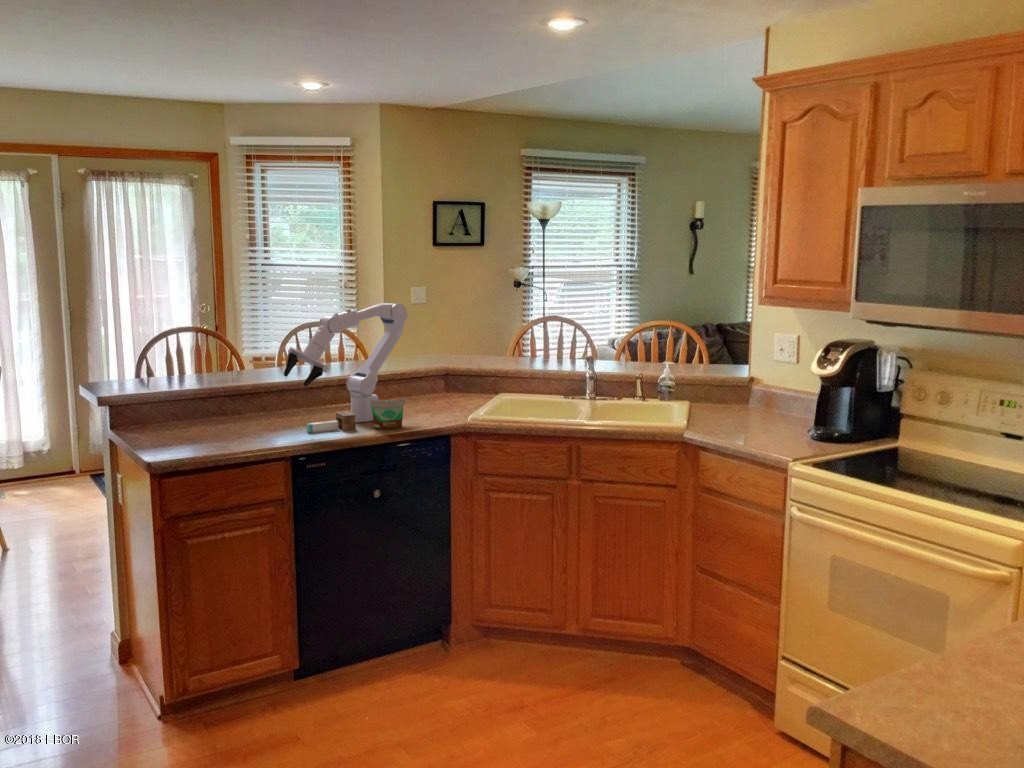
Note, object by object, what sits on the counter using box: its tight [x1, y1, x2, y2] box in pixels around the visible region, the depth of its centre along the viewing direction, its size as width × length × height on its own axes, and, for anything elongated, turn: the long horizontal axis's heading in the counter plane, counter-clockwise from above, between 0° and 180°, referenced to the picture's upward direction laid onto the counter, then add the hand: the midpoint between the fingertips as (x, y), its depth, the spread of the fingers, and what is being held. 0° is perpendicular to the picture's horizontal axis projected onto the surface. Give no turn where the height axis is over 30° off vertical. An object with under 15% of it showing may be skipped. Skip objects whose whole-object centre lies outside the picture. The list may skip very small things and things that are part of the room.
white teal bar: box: [305, 419, 340, 434], centre depth 288 cm, size 10×3×3 cm, turn 120°
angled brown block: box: [335, 410, 356, 432], centre depth 291 cm, size 4×8×5 cm, turn 31°
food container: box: [370, 396, 407, 431], centre depth 290 cm, size 12×6×10 cm, turn 118°
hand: (294, 380), depth 285 cm, fingers open, 7 cm apart
